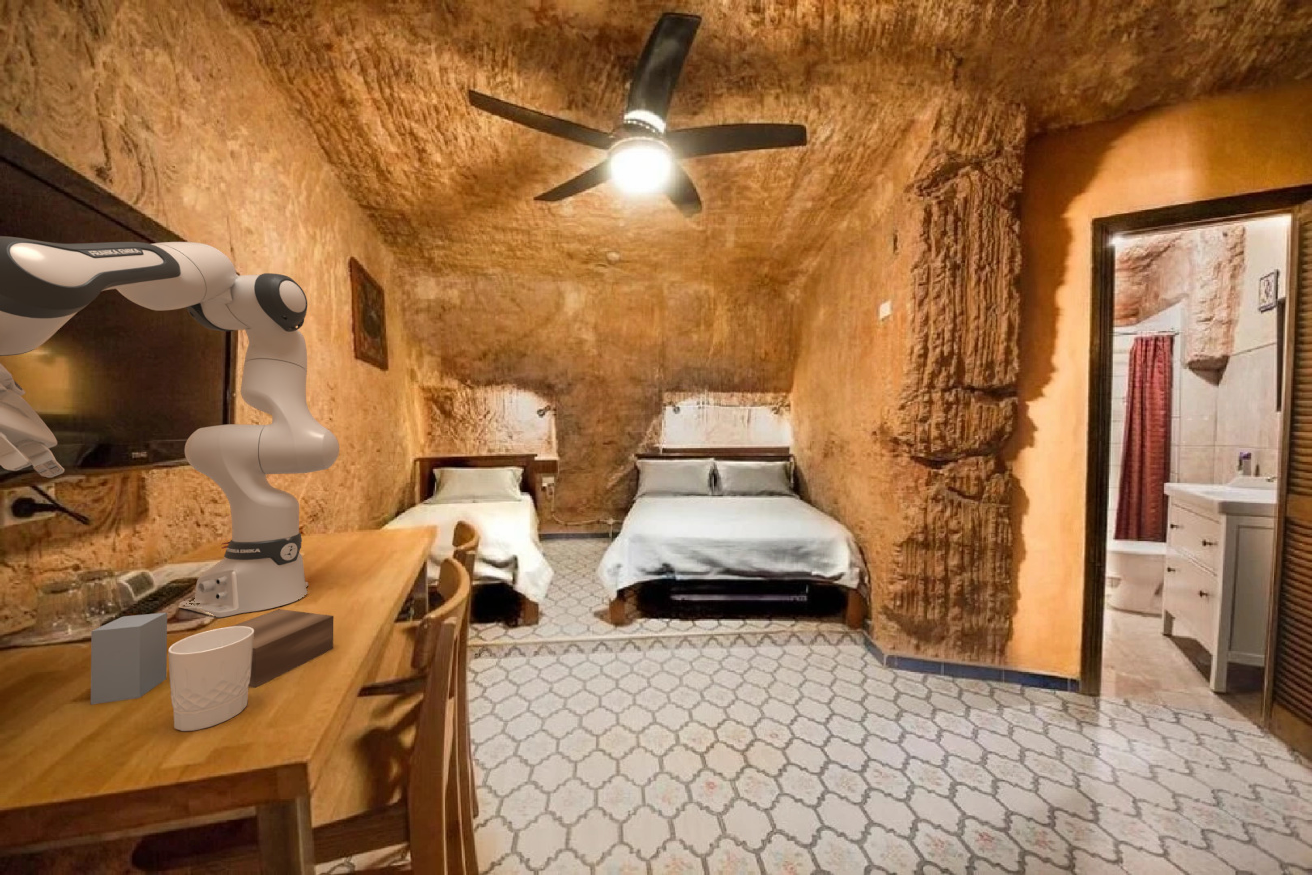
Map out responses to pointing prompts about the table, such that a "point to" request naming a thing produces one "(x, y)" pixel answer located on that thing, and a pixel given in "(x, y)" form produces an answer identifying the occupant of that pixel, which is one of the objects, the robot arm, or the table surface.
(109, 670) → the slate block
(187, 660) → the white cup
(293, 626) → the walnut box
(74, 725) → the table surface
